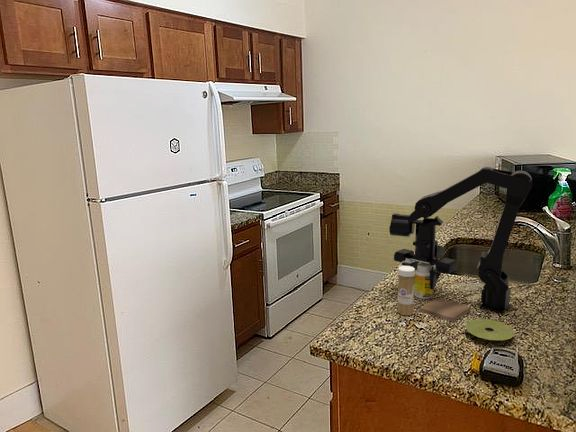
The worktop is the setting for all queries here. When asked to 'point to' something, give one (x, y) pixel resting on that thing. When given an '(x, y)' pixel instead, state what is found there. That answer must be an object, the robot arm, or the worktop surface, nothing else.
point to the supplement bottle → (422, 281)
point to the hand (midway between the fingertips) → (423, 286)
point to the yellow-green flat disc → (489, 329)
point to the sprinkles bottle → (405, 290)
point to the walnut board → (445, 309)
